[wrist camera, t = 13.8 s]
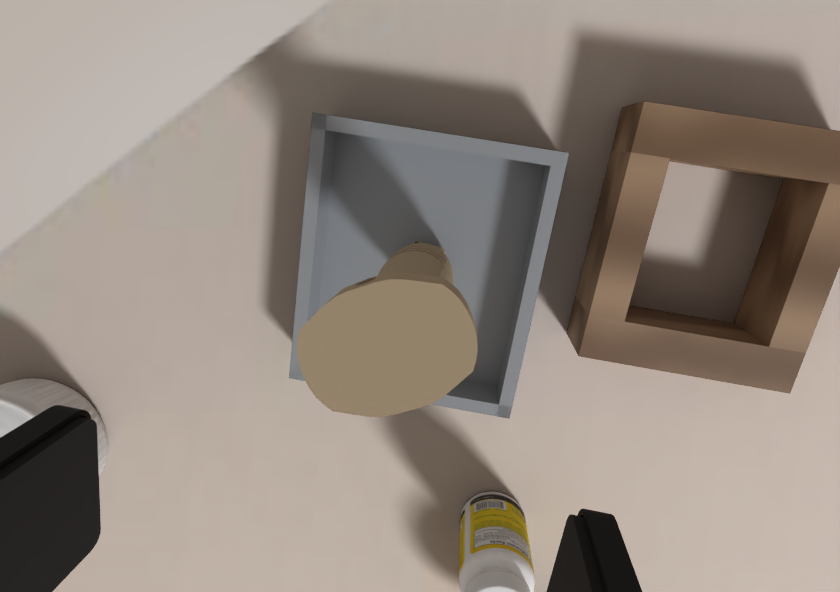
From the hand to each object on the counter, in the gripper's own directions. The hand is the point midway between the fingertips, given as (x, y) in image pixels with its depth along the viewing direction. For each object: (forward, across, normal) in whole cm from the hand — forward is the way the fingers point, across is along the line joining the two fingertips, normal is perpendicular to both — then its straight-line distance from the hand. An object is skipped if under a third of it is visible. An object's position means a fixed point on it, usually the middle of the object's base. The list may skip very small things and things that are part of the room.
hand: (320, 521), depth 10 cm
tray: (+25, 0, 0) cm, 25 cm away
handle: (+24, 0, 0) cm, 24 cm away
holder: (+25, -16, -4) cm, 29 cm away
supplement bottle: (+25, -8, +18) cm, 32 cm away
